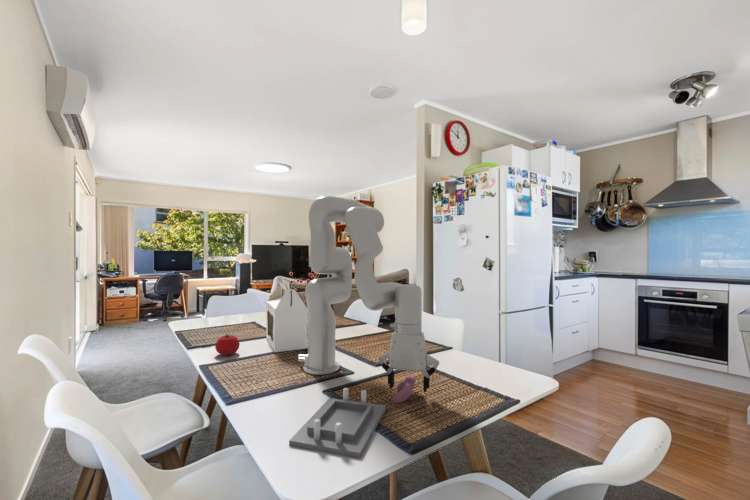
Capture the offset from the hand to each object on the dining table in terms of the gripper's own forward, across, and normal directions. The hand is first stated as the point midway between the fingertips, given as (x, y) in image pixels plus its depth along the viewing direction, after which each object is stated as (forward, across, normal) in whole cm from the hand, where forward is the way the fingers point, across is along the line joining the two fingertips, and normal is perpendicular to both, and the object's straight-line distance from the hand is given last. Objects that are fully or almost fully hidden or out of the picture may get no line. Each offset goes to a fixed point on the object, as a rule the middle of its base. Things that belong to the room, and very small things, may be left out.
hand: (408, 388), depth 99 cm
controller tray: (+2, -12, -20) cm, 23 cm away
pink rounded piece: (+3, -1, 0) cm, 3 cm away
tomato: (+2, -75, +18) cm, 78 cm away
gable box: (+2, -61, +38) cm, 72 cm away
